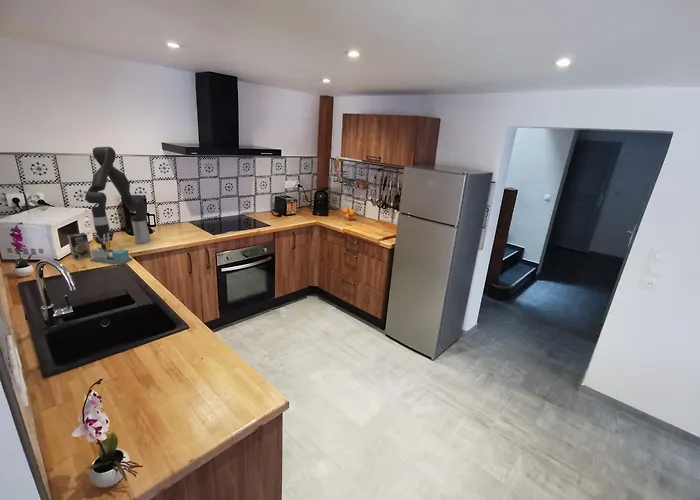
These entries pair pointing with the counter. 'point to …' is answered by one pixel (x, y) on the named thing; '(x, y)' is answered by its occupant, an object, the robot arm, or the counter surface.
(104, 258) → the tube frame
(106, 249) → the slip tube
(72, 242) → the coffee box
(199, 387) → the counter surface
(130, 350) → the counter surface
